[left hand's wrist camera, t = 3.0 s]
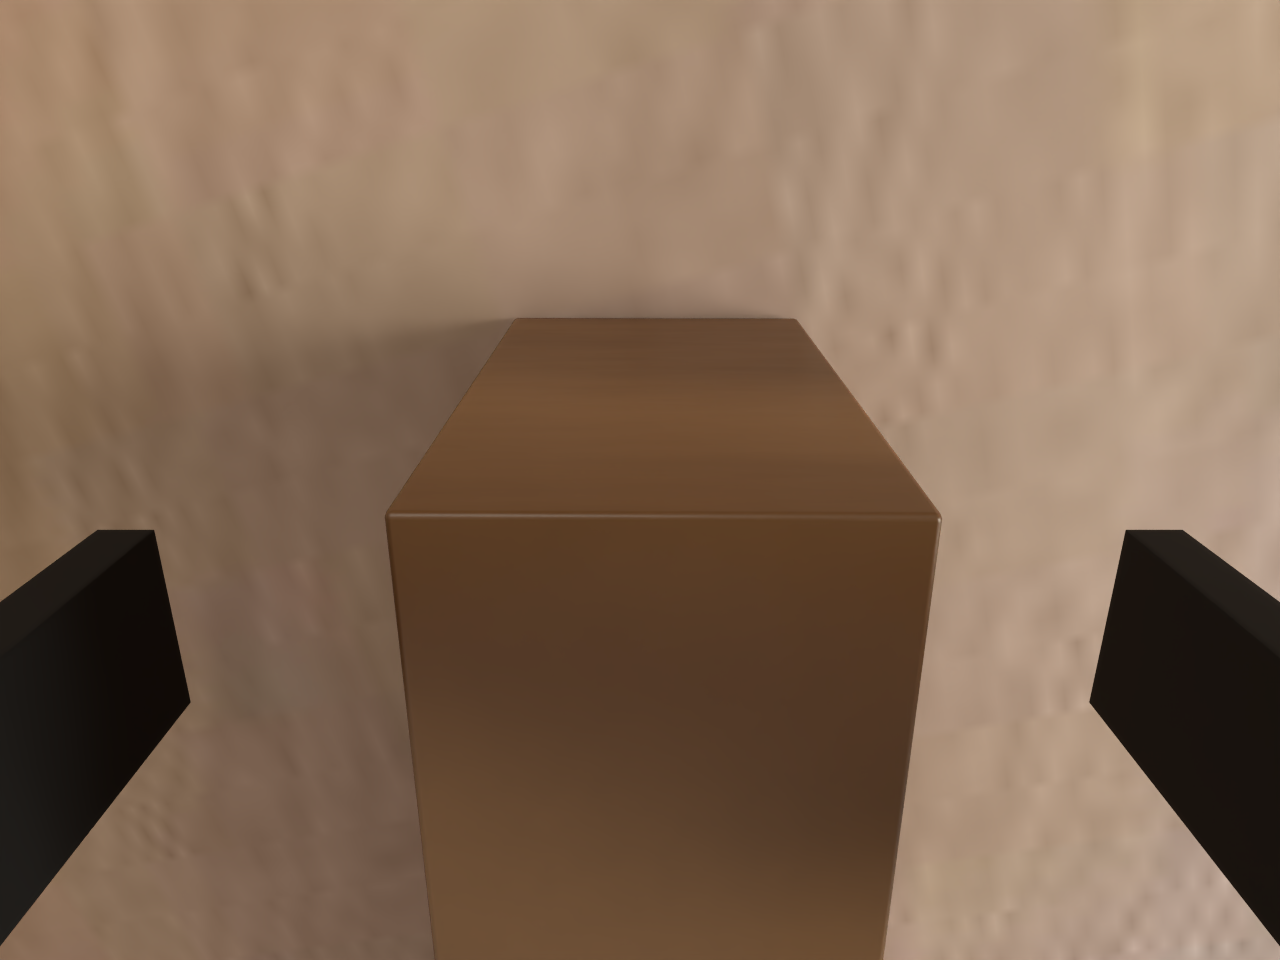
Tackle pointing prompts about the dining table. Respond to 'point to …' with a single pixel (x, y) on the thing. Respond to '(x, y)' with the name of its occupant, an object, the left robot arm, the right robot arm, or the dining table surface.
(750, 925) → the bar
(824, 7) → the dining table surface
